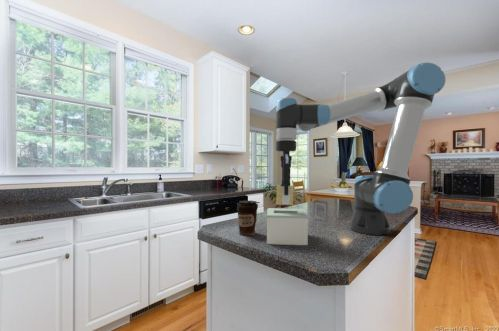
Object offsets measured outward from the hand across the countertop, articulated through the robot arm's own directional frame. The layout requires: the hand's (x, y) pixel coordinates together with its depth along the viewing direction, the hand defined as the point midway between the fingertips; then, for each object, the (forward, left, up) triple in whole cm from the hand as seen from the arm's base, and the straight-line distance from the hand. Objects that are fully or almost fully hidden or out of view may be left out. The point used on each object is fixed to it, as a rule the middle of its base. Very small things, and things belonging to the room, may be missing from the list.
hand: (285, 203), depth 90 cm
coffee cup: (+15, -5, -14) cm, 21 cm away
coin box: (0, 0, -13) cm, 13 cm away
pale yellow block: (0, 0, 0) cm, 1 cm away
